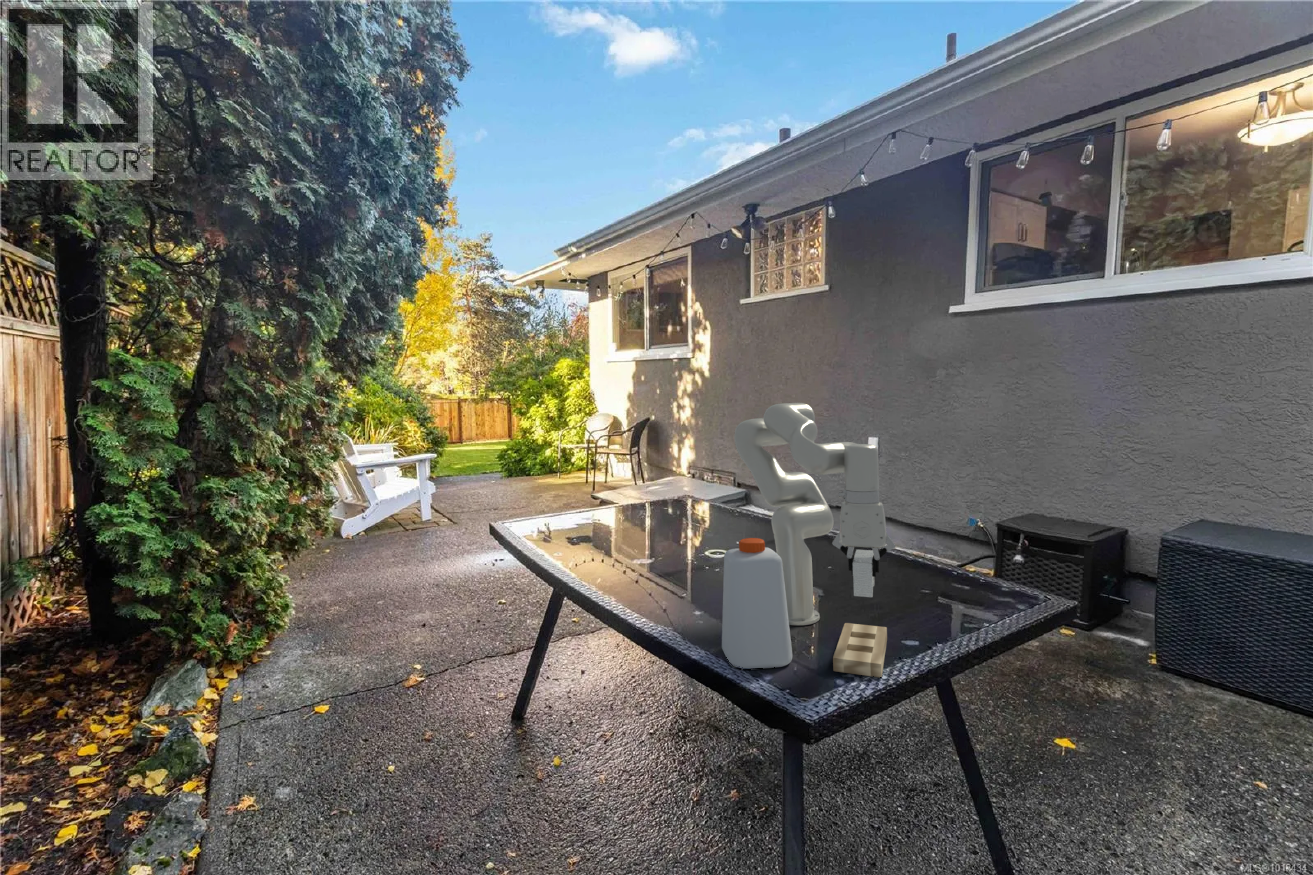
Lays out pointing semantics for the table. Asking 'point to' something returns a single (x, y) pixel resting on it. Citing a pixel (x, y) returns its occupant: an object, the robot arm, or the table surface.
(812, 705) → the table surface
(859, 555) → the brushed steel block
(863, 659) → the birch rail
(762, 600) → the plastic bottle
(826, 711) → the table surface
